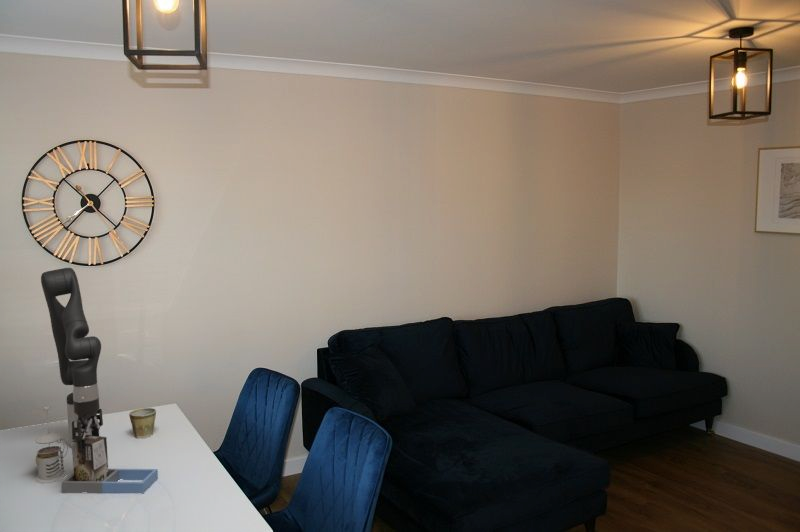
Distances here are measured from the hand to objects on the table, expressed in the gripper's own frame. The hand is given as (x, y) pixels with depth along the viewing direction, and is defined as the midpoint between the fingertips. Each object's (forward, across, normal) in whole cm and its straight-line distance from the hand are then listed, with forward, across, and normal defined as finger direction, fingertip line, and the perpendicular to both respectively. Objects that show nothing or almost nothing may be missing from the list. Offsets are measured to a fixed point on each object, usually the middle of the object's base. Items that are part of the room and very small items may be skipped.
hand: (88, 445), depth 209 cm
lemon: (+14, -12, -24) cm, 30 cm away
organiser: (+14, 0, +7) cm, 15 cm away
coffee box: (+14, 0, 0) cm, 14 cm away
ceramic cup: (+14, -47, -4) cm, 49 cm away
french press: (+14, -7, -18) cm, 24 cm away
